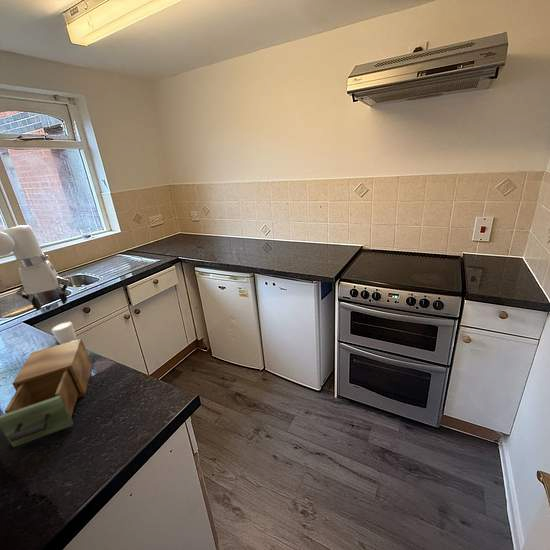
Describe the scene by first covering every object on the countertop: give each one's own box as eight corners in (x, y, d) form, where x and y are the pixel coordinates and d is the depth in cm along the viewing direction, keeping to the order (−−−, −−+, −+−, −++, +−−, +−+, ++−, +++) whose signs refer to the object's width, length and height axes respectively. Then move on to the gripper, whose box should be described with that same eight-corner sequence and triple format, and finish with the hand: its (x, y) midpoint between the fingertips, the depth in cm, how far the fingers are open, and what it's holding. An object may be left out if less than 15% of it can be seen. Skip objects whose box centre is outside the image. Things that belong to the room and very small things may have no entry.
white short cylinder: (72, 335, 121) (65, 320, 118) (82, 338, 118) (75, 322, 115) (54, 345, 115) (47, 329, 113) (64, 348, 112) (57, 332, 110)
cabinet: (85, 395, 85) (71, 365, 82) (29, 414, 81) (11, 383, 77) (92, 365, 99) (81, 338, 95) (45, 380, 95) (31, 352, 91)
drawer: (68, 439, 70) (53, 411, 67) (5, 464, 66) (-14, 435, 63) (82, 389, 87) (71, 364, 84) (32, 406, 83) (18, 381, 79)
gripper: (63, 253, 110) (80, 295, 117) (6, 264, 105) (28, 308, 111) (58, 258, 104) (76, 302, 110) (-3, 270, 98) (20, 317, 105)
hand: (52, 305), depth 111 cm, fingers open, 7 cm apart
